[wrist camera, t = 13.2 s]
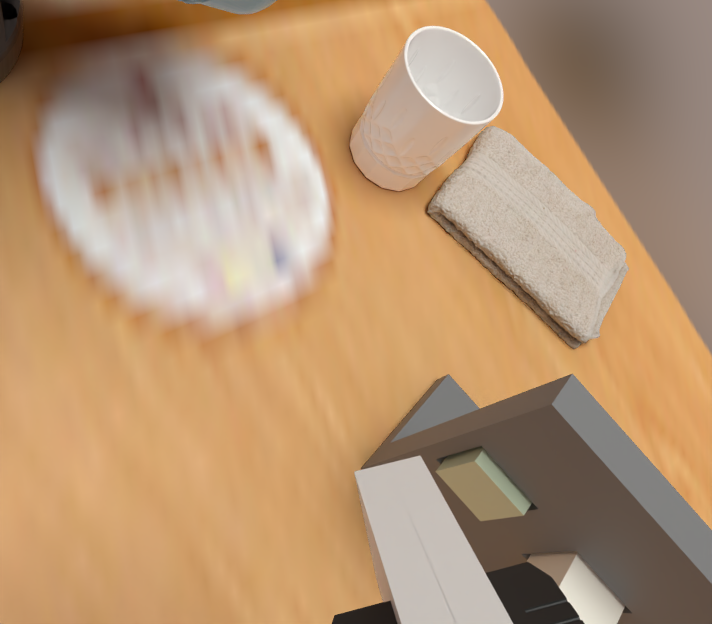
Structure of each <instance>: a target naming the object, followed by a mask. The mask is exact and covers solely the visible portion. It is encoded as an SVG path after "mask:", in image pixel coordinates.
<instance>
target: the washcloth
mask: <svg viewBox="0 0 712 624" xmlns="http://www.w3.org/2000/svg"><path fill="white" fill-rule="evenodd" d="M467 155H468V156H467V159H466V160H465V161H464V162H463V164H462V165H461V166H460V167H459V168H458V169H456V170H455V171H454V172H453V173H452V174H451V175H450V176H449V177H448V178H447V180H446V181H445V182H444V183H443V185H442V186H441V188H440V190H439V191H437V193H436V194H435V196H434V197H433V199H432V201H431V203H430V204H429V206H428V211H427V213H428V214H430V215H431V218H433V219H435V220H436V221H437V222H439V224H440V225H441V226H442V227H443V228H444V229H445V230H446V231H447V232H449V233H450V234H451V235H452V236H453V237H454V239H455V240H456V241H458V242H459V243H460V244H461V245H463V246H464V247H465V248H466V249H467V250H469V251H470V252H471V253H472V255H473V256H475V257H476V259H478V261H480V262H481V264H482V265H483V266H484V267H487V268H488V270H489V271H490V272H491V273H492V275H495V277H496V278H498V279H499V280H500V281H501V282H504V284H505V285H506V286H507V287H508V288H509V289H511V290H513V291H514V293H515V294H516V295H517V296H518V297H519V298H520V299H521V300H522V301H523V302H525V303H527V304H528V306H529V307H531V308H532V309H533V310H534V311H535V313H536V314H537V315H538V316H540V317H541V318H542V320H543V321H544V322H545V323H546V324H547V325H549V326H550V327H551V328H552V329H553V331H555V332H556V333H557V334H558V336H559V337H561V338H562V339H563V340H564V341H565V342H566V343H567V345H569V346H570V347H572V348H573V349H575V348H577V347H579V346H580V344H581V343H586V342H587V341H588V340H589V339H594V338H598V337H600V334H599V328H600V326H601V324H602V321H603V318H604V316H605V315H606V313H607V311H608V309H609V307H610V305H611V303H612V301H613V299H614V297H615V295H616V293H617V291H618V289H619V288H620V286H621V283H622V281H623V279H624V277H625V274H626V272H627V271H628V270H629V268H628V266H627V264H626V263H625V259H626V253H625V250H624V248H623V247H622V246H621V245H620V244H619V243H617V242H616V241H615V240H614V238H613V237H612V236H611V235H610V234H609V233H608V232H607V231H606V230H605V229H604V228H603V226H602V225H601V224H600V222H599V221H598V219H597V218H596V213H595V210H594V209H593V208H592V207H591V206H590V205H588V204H587V203H585V202H583V201H581V200H580V199H579V198H578V197H577V196H576V195H575V194H574V193H573V192H571V191H570V190H569V189H568V188H567V187H566V186H565V185H564V184H563V183H562V182H561V181H560V180H559V179H558V178H557V176H556V175H555V174H554V173H552V172H551V171H550V170H549V169H548V168H547V167H546V166H545V165H544V164H542V163H541V162H540V161H539V160H538V159H536V158H535V157H534V156H533V155H532V154H531V153H530V152H528V150H527V149H525V148H524V146H523V145H521V143H519V142H518V141H517V140H516V139H515V137H514V136H512V135H511V134H509V133H507V132H506V131H504V130H502V129H499V128H497V127H495V126H490V127H487V128H485V129H484V131H482V132H481V133H480V134H479V136H478V138H477V140H476V141H475V143H474V144H473V146H472V147H471V149H470V151H469V154H467Z"/></svg>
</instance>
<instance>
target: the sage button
mask: <svg viewBox="0 0 712 624" xmlns="http://www.w3.org/2000/svg"><path fill="white" fill-rule="evenodd" d="M435 472H436V473H437V474H438V475H439V476H440V477H441V478H442V479H443V480H444V482H445V483H446V484H447V485H448V486H449V487H450V488H451V489H452V490H453V492H454V493H455V494H456V495H457V496H458V497H459V498H460V499H461V500H462V501H463V503H464V504H465V505H466V506H467V507H468V508H469V509H470V510H471V511H472V513H473V514H474V515H475V516H476V517H477V518H478V519H479V520H480V521H487V520H494V519H502V518H509V517H517V516H524V515H525V513H526V512H527V510H528V508H529V507H530V505H531V504H532V501H531V500H530V499H529V498H528V497H527V496H526V495H525V494H524V492H523V491H522V490H521V489H520V488H519V487H518V486H517V485H516V484H515V482H514V481H513V480H512V479H511V478H510V477H509V476H508V475H507V474H506V472H505V471H504V470H503V469H502V468H501V467H500V466H499V465H498V464H497V462H496V461H495V460H494V459H493V458H492V457H491V456H490V455H489V454H488V452H487V451H486V450H485V449H484V448H483V447H482V446H479V447H475V448H472V449H469V450H465V451H462V452H459V453H455V454H452V455H448V456H447V457H446V458H445V460H444V461H443V462H442V464H441V465H440V466H439V468H438V469H437V470H436V471H435Z"/></svg>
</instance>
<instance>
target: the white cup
mask: <svg viewBox="0 0 712 624" xmlns="http://www.w3.org/2000/svg"><path fill="white" fill-rule="evenodd" d="M502 104H503V87H502V83H501V80H500V77H499V75H498V73H497V71H496V69H495V67H494V65H493V64H492V62H491V61H490V59H489V58H488V57H487V55H486V54H485V53H484V52H483V51H482V50H481V49H480V48H479V47H478V46H477V45H476V44H475V43H473V42H472V41H471V40H470V39H468V38H467V37H465V36H464V35H462V34H460V33H458V32H456V31H454V30H451V29H448V28H445V27H440V26H426V27H422V28H420V29H418V30H416V31H414V32H413V33H412V34H411V35H410V36H409V38H408V39H407V41H406V43H405V44H404V46H403V47H402V49H401V51H400V52H399V54H398V55H397V57H396V59H395V60H394V62H393V63H392V65H391V66H390V68H389V70H388V71H387V73H386V74H385V76H384V77H383V79H382V81H381V82H380V84H379V85H378V87H377V89H376V91H375V93H374V94H373V96H372V97H371V99H370V100H369V102H368V104H367V106H366V108H365V110H364V113H363V114H362V116H361V117H360V119H359V120H358V122H357V123H356V125H355V126H354V128H353V130H352V134H351V139H350V144H349V145H350V149H351V152H352V156H353V159H354V162H355V164H356V165H357V166H358V168H359V169H360V170H361V172H362V173H363V174H364V175H365V177H366V178H368V179H369V180H371V181H372V182H374V183H375V184H377V185H378V186H380V187H381V188H385V189H390V190H395V191H402V190H406V189H409V188H413V187H415V186H416V185H417V184H418V183H419V182H420V181H421V180H422V179H423V178H425V177H426V176H427V175H428V174H429V173H430V172H431V171H433V170H435V169H436V168H438V167H439V166H440V165H441V164H443V163H444V162H445V161H446V160H447V159H448V158H450V157H451V156H452V155H453V154H455V153H456V152H457V151H458V150H459V149H460V148H462V147H463V146H464V145H465V144H466V143H467V142H468V141H469V140H470V139H472V138H473V137H474V136H475V135H476V134H477V133H478V132H479V131H480V130H482V129H483V128H484V127H485V126H486V125H487V124H488V123H489V122H491V121H492V120H493V119H494V118H495V117H496V116H497V115H498V113H499V112H500V110H501V108H502Z"/></svg>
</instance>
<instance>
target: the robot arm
mask: <svg viewBox="0 0 712 624" xmlns="http://www.w3.org/2000/svg"><path fill="white" fill-rule="evenodd" d="M178 1H183V2H185V3H188V4H198V3H199V4H203V5H207V6H210V7H214V8H217V9H221V10H225V11H228V12H232V13H236V14H252V13H256V12H258V11H261V10H263V9H265V8H267V7H269V6H270V5H272V4H273V3H274V2H275V1H277V0H178ZM22 42H23V2H22V0H0V82H1V81H2V80H3V79H4V78H5V77H6V76H7V75H8V74H9V72H10V71H11V70H12V68H13V67H14V65H15V63H16V61H17V59H18V57H19V54H20V51H21V48H22ZM354 474H355V479H356V483H357V488H358V493H359V498H360V503H361V507H362V512H363V517H364V522H365V526H366V531H367V536H368V541H369V546H370V550H371V555H372V560H373V565H374V570H375V574H376V579H377V582H378V586H379V589H380V593H381V596H382V600H383V603H379V604H375V605H372V606H368V607H364V608H360V609H357V610H353V611H349V612H345V613H342V614H338V615H335V616H334V619H333V622H332V624H585V623H584V622H583V621H582V620H580V618H579V615H578V613H577V612H576V611H575V609H574V608H573V606H572V605H571V604H570V602H568V601H567V598H566V596H565V595H564V594H563V592H562V591H561V589H560V588H559V587H558V585H557V584H556V582H555V581H554V579H553V578H552V577H551V576H550V575H548V574H546V573H545V572H543V571H542V570H540V569H539V568H537V567H535V566H534V565H532V564H531V563H529V562H525V563H521V564H517V565H514V566H510V567H506V568H502V569H499V570H495V571H491V572H487V573H485V572H484V570H483V568H482V566H481V564H480V562H479V561H478V559H477V557H476V555H475V553H474V552H473V550H472V548H471V546H470V544H469V543H468V541H467V539H466V537H465V535H464V533H463V532H462V530H461V528H460V526H459V524H458V523H457V521H456V519H455V517H454V515H453V514H452V512H451V510H450V508H449V506H448V504H447V503H446V501H445V499H444V497H443V495H442V494H441V492H440V490H439V488H438V486H437V485H436V483H435V481H434V479H433V477H432V475H431V474H430V472H429V470H428V468H427V466H426V465H425V463H424V461H423V459H422V457H421V456H416V457H412V458H408V459H404V460H399V461H395V462H391V463H387V464H383V465H379V466H375V467H371V468H367V469H363V470H359V471H355V472H354Z"/></svg>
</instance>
